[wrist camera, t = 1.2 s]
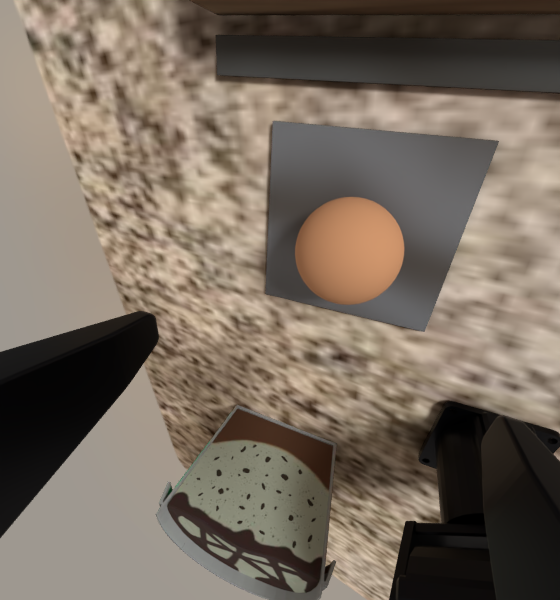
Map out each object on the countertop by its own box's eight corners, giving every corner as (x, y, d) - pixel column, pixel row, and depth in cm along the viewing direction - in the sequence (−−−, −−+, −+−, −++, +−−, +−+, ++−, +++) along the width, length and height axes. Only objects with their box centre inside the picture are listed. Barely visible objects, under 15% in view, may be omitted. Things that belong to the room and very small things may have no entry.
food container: (220, 437, 32) (157, 547, 24) (221, 398, 29) (149, 511, 21) (337, 487, 29) (310, 629, 21) (354, 450, 26) (329, 602, 18)
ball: (390, 285, 18) (385, 337, 13) (305, 267, 19) (277, 310, 15) (417, 194, 15) (420, 225, 11) (315, 180, 16) (284, 203, 12)
